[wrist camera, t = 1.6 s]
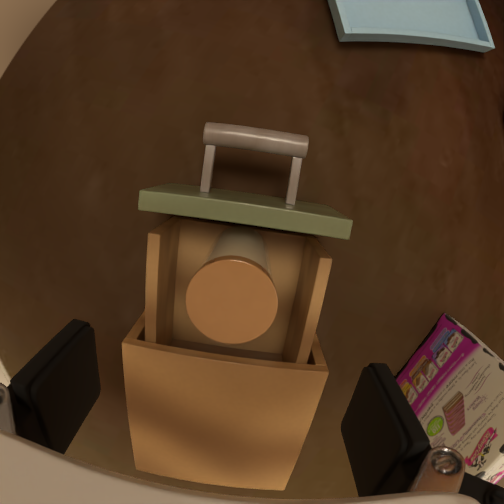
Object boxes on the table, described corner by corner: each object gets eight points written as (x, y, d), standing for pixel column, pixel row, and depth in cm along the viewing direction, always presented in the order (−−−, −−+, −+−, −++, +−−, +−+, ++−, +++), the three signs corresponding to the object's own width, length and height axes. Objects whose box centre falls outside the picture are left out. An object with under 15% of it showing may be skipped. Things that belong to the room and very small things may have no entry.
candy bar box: (408, 404, 31) (464, 512, 15) (379, 393, 31) (433, 514, 15) (469, 327, 29) (560, 416, 13) (444, 309, 28) (545, 407, 12)
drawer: (176, 124, 23) (148, 111, 17) (337, 147, 23) (366, 142, 17) (158, 336, 28) (136, 381, 21) (295, 355, 28) (305, 404, 22)
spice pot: (206, 279, 25) (182, 337, 16) (212, 220, 24) (188, 253, 15) (265, 287, 25) (269, 349, 17) (274, 229, 24) (285, 266, 15)
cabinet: (156, 293, 28) (121, 342, 19) (310, 314, 28) (329, 372, 20) (156, 412, 31) (136, 469, 23) (279, 429, 32) (284, 490, 24)
